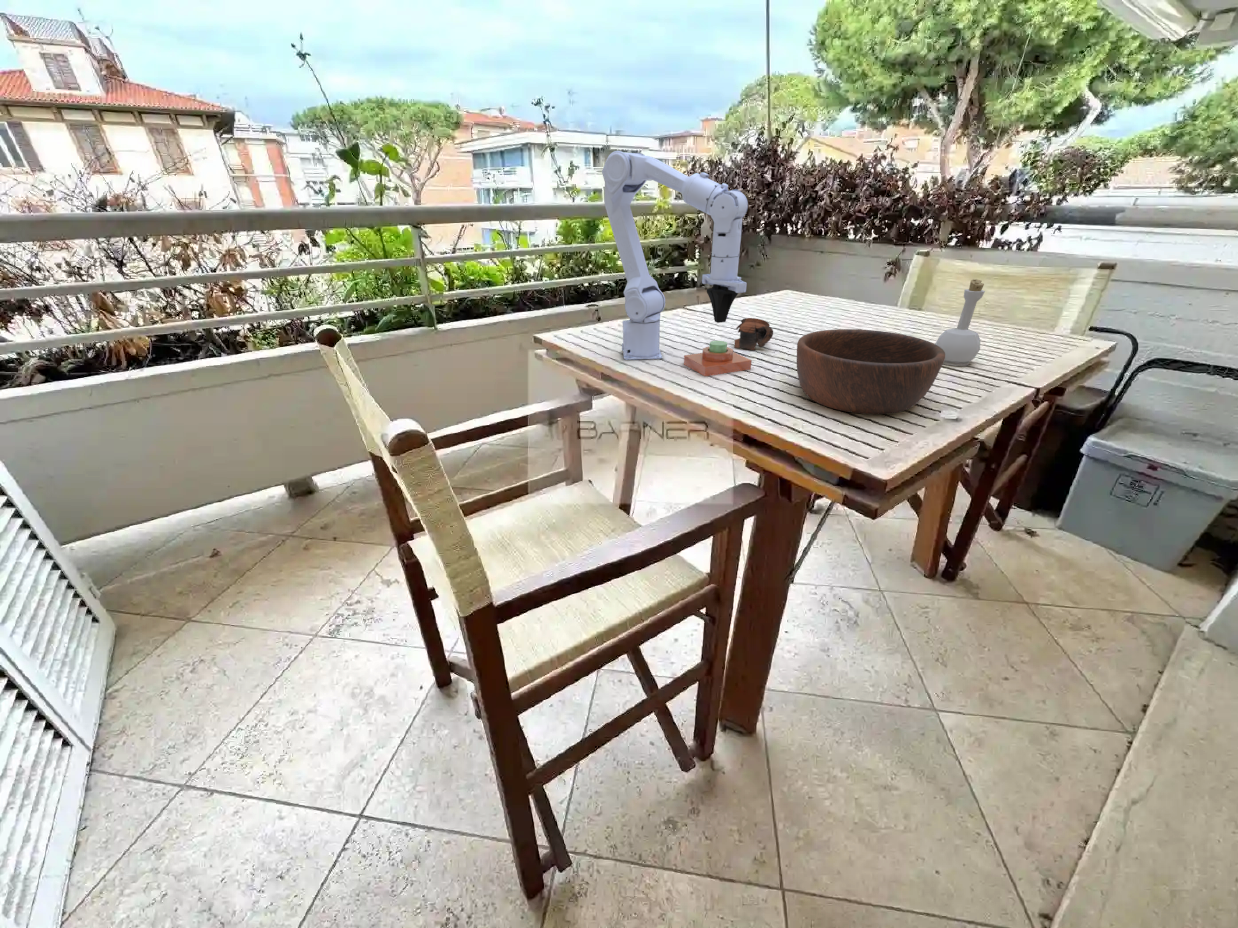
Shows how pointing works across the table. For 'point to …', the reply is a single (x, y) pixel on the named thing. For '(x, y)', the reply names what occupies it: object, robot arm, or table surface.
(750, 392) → the table surface
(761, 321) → the pottery mug
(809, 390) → the wooden bowl
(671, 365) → the table surface
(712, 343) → the green button cap
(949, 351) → the potion bottle
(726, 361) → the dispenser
